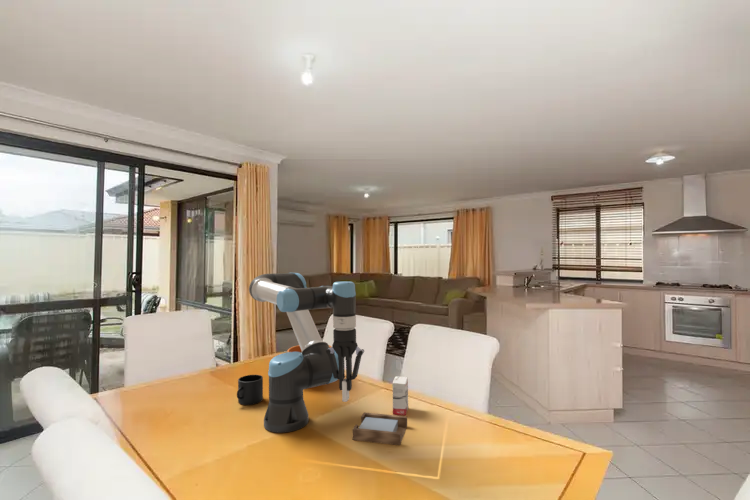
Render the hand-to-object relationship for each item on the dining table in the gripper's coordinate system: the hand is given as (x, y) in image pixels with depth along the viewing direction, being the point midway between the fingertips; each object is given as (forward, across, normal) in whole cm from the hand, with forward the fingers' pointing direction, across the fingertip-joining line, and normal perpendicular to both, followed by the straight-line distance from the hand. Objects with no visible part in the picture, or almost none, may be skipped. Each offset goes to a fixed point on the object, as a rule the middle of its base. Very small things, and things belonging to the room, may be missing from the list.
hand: (345, 399), depth 125 cm
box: (+10, +12, 0) cm, 16 cm away
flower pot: (+10, -32, +44) cm, 56 cm away
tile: (+10, +11, 0) cm, 15 cm away
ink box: (+11, +15, +19) cm, 26 cm away
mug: (+10, -46, +15) cm, 50 cm away
